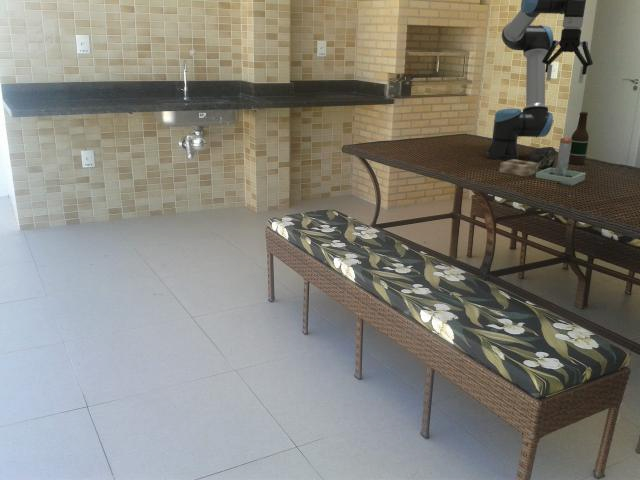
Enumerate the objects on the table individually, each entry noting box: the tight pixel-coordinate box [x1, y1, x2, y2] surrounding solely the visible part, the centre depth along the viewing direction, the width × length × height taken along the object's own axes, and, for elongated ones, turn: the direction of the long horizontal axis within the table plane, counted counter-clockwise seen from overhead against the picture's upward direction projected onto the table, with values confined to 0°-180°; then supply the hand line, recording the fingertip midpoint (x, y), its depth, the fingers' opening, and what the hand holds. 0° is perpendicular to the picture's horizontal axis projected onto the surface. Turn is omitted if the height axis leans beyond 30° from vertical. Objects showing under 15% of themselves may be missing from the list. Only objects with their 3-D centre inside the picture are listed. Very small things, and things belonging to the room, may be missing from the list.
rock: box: [528, 146, 557, 170], centre depth 274 cm, size 12×10×10 cm
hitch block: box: [499, 159, 539, 177], centre depth 262 cm, size 12×12×5 cm
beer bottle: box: [568, 111, 589, 166], centre depth 285 cm, size 8×8×24 cm
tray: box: [535, 167, 587, 187], centre depth 254 cm, size 15×15×3 cm
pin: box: [554, 137, 572, 177], centre depth 252 cm, size 4×4×16 cm
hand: (564, 81), depth 257 cm, fingers open, 13 cm apart
